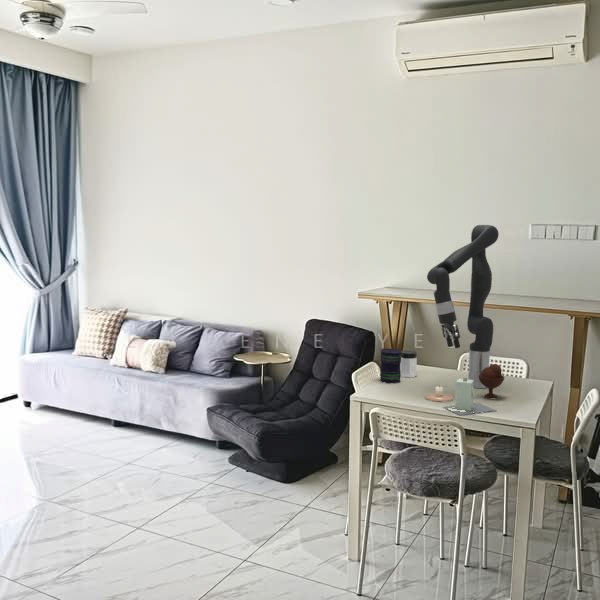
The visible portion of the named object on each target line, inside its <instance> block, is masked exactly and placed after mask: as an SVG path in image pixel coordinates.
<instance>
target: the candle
mask: <svg viewBox="0 0 600 600" xmlns="http://www.w3.org/2000/svg"><path fill="white" fill-rule="evenodd" d="M434 390H435V392H434V393H435V396H436V397H443V393H444V386H440V384H439V385H438V386H435V389H434Z"/></svg>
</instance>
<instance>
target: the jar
mask: <svg viewBox="0 0 600 600" xmlns="http://www.w3.org/2000/svg"><path fill="white" fill-rule="evenodd" d="M417 363H418V358H417V351H415V350H408V349H407V350H405V349H404V350H401V363H400V370H401V373H400V374H401V377H400V378H402V377H403V378H409V377H410V378H414V377H415V376H416V377H417V366H418V364H417Z"/></svg>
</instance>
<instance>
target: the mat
mask: <svg viewBox="0 0 600 600" xmlns="http://www.w3.org/2000/svg"><path fill="white" fill-rule="evenodd" d="M448 406H449V407H448ZM443 407H444V408H446V409H448V408H452V407H455V405H447V406H443ZM444 408H443V409H444ZM446 409H445V410H446ZM452 409H455V408H452ZM490 411H495V412H497V409H494V408H492V407H490V406H487V405H484V404H483V403H480V402H476V403H474V402H473V408H472V410H471V411H466V412H460V411H452V412H451V410H450V411H449V412H451V413H453V414H456V415H458V416H460V417H461V416H469V415H473V414H472V413H473V412H474V413H478V414H482V413H481V412H486V413H491V412H490Z"/></svg>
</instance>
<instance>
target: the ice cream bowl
mask: <svg viewBox="0 0 600 600" xmlns="http://www.w3.org/2000/svg"><path fill="white" fill-rule="evenodd" d="M502 372H503V371H502V367H501V366H500V365H499V364H496V363H493V364H492V363H491V364H489V367H486V368H484V369H483V370H482V372H481V374H480V375H479V380H480V382H481V383H482V384H483V385H484V386H486V387H487V388H488V392H487V393H486V394H485V395H484V396H485V397H487V398H486V399H489V398H495V399H497V398H498V396H497V395H496V394H494V390H495V389H496V388H498V387H500V385H502V384H503V382H504V380H505V376H504V375H503V374H502ZM485 397H484V398H485Z"/></svg>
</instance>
